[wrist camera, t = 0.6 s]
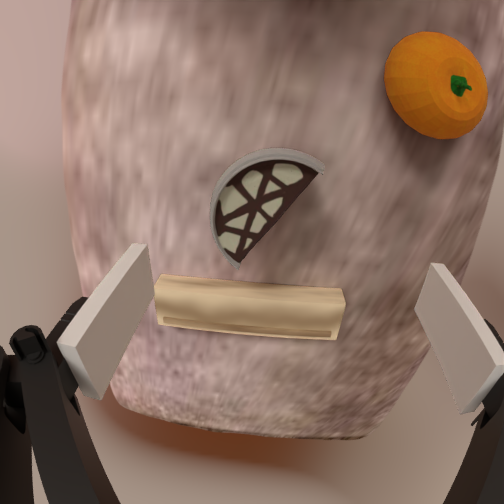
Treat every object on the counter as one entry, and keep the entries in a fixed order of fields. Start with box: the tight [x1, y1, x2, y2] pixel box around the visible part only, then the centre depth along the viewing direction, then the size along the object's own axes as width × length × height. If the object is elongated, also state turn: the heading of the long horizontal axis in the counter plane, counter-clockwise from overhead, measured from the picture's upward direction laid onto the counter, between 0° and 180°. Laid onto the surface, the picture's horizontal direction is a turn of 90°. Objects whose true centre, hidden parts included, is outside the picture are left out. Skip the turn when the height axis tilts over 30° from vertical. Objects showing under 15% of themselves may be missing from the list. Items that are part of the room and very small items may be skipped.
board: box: [154, 274, 346, 340], centre depth 40 cm, size 6×24×4 cm, turn 87°
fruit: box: [384, 32, 488, 139], centre depth 23 cm, size 12×12×10 cm
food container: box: [210, 148, 324, 270], centre depth 30 cm, size 12×6×10 cm, turn 142°
